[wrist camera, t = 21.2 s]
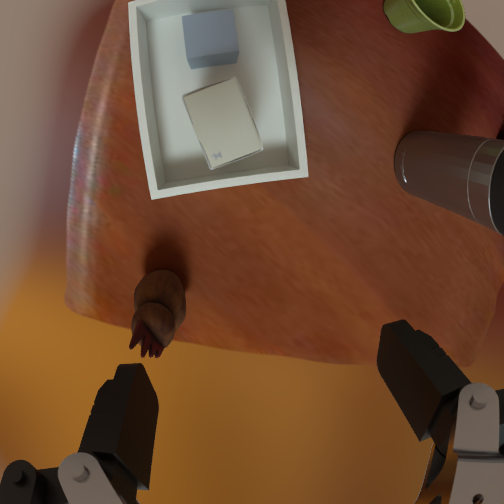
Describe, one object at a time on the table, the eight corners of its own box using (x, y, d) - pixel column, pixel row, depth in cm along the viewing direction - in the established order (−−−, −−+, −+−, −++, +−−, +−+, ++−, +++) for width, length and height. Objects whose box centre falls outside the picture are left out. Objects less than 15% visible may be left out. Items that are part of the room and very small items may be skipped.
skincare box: (250, 148, 33) (267, 154, 21) (213, 162, 33) (211, 175, 22) (230, 95, 30) (237, 73, 19) (193, 109, 30) (179, 95, 19)
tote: (272, 2, 27) (281, -18, 21) (294, 170, 35) (308, 176, 30) (140, 20, 26) (128, 2, 21) (161, 189, 34) (151, 199, 29)
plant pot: (375, -23, 25) (406, -47, 17) (429, 7, 27) (465, -7, 19) (367, 24, 28) (401, 4, 20) (424, 54, 30) (464, 45, 22)
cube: (230, 25, 27) (233, 9, 22) (236, 63, 29) (239, 51, 24) (186, 31, 27) (181, 16, 22) (191, 69, 29) (186, 58, 24)
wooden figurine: (138, 264, 37) (101, 335, 23) (181, 258, 37) (163, 329, 24) (151, 310, 40) (127, 389, 26) (192, 304, 40) (183, 386, 26)
